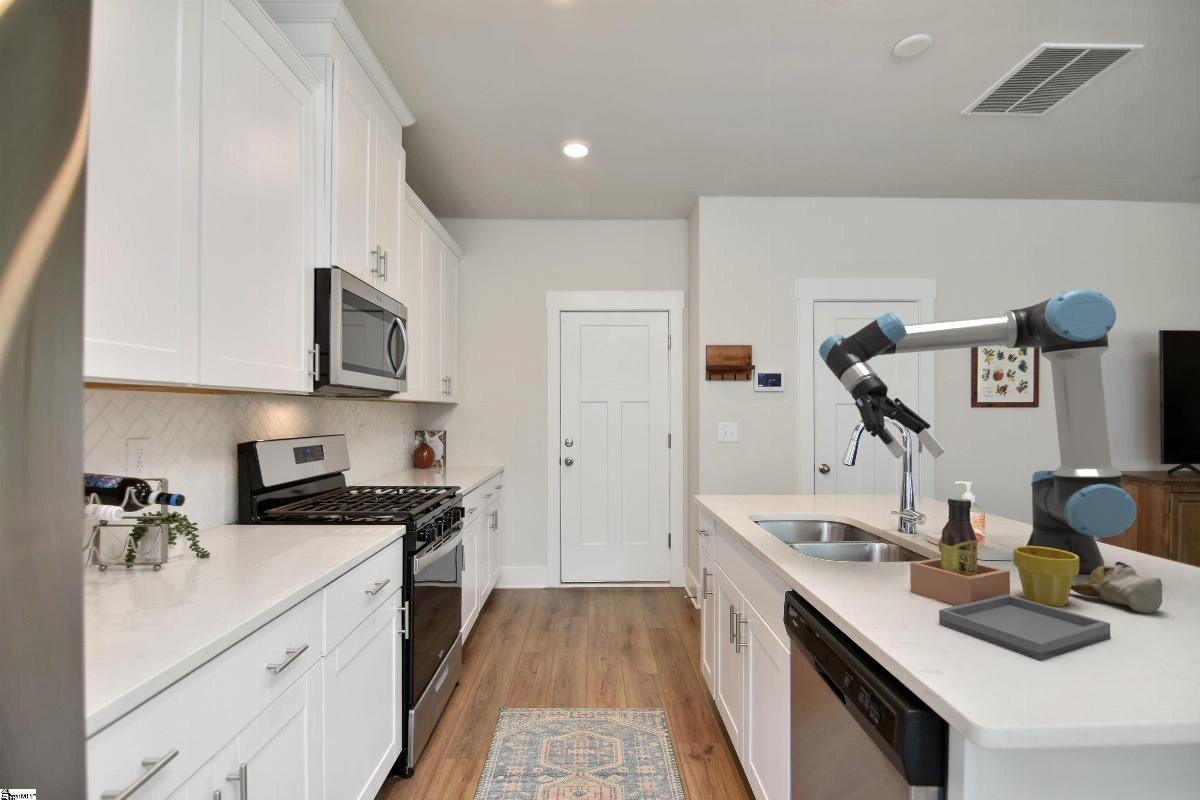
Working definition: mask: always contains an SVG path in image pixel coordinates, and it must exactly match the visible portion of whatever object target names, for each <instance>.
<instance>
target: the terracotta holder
mask: <svg viewBox="0 0 1200 800" xmlns="http://www.w3.org/2000/svg"><path fill="white" fill-rule="evenodd" d="M910 592H911V593H914V594H917V595H920V596H924V597H927V598H931V599H934V600H936V601H940V602H942V603H946V604H949V605H952V606H958V605H963V604H967V603H971V602H976V601H980V600H985V599H989V598H993V597H998V596H1002V595H1011V571H1010V570H1007V569H1003V568H999V567H994V566H990V565H986V564H982V563H978V562H977V575H973V576H965V575H961V574H957V573H953V572H950V571H946V570H942V569H941V557H937V558H931V559H925V560H924V559H923V560H919V561H914V562H910Z"/></svg>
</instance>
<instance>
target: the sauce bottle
mask: <svg viewBox="0 0 1200 800" xmlns="http://www.w3.org/2000/svg"><path fill="white" fill-rule="evenodd" d="M947 505H948V517H947V518H948V521H947V522H946V524H945V526H943V528H942V531H941V537H942V542H941V553H940V558H941V569H942V570H946V571H950V572H953V573H957V574H961V575H965V576H973V575H977V563H978V538H977V536H976V532H975V531H974V528H973V526H972V522H971V509H972V508H971V507H972V500H971V499H968V498H962V497H959V498H958V497H948V499H947Z"/></svg>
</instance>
